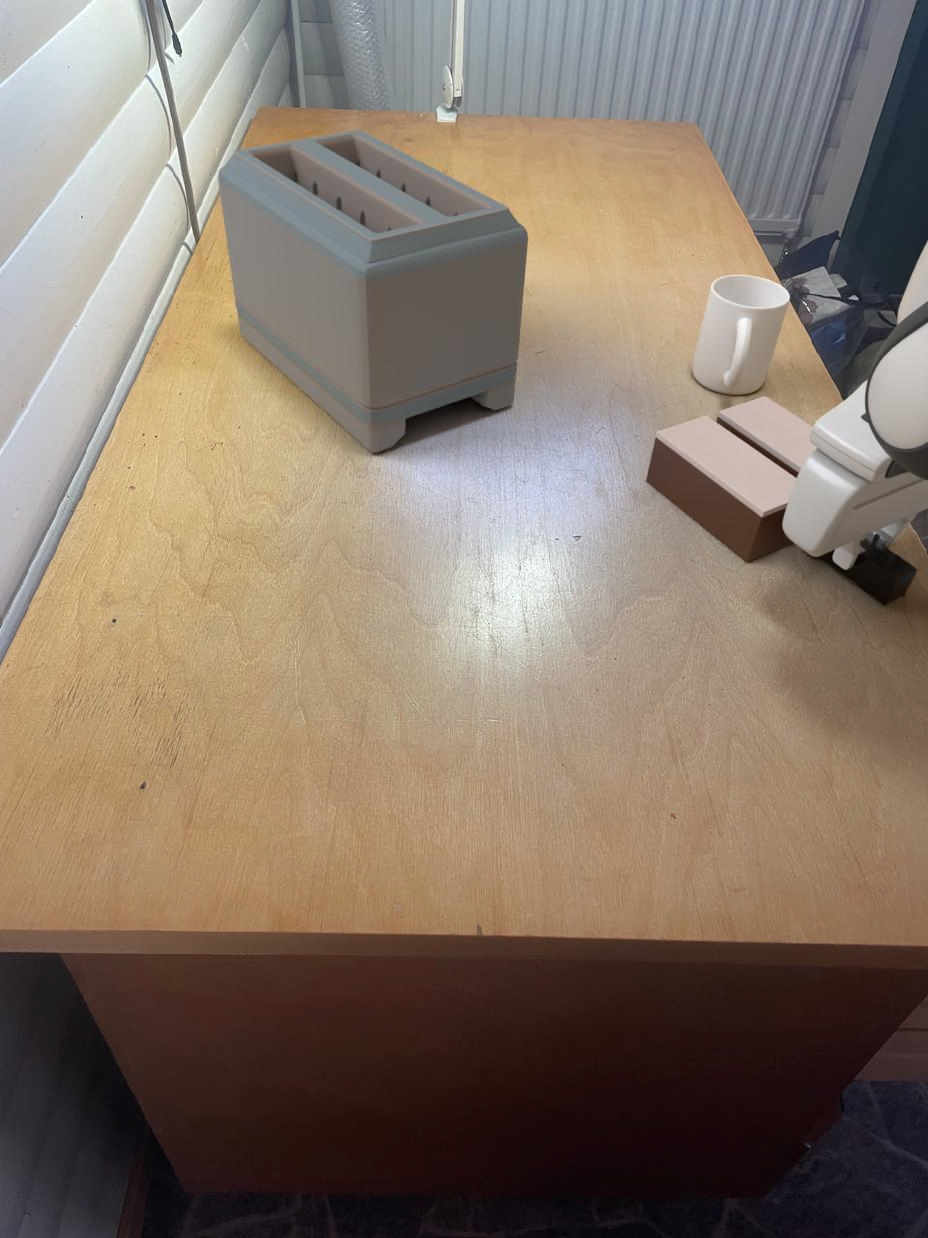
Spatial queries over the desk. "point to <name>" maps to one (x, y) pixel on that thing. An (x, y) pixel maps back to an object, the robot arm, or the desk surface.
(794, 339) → the desk surface
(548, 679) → the desk surface
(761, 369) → the mug
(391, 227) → the toaster
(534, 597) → the desk surface
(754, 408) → the cake
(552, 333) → the desk surface
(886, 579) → the knife
